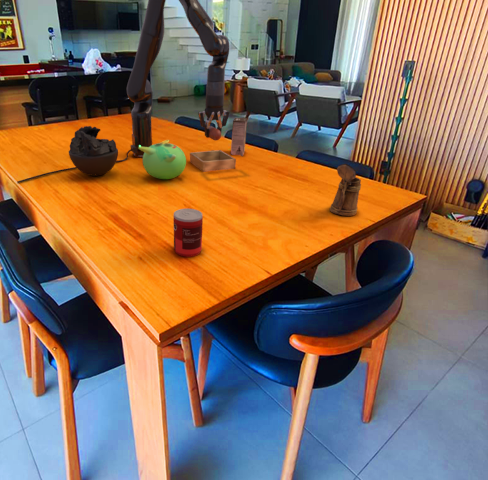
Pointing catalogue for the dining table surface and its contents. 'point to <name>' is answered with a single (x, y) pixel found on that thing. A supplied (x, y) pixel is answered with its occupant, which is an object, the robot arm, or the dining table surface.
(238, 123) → the coffee box
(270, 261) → the dining table surface
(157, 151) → the toy bird
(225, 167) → the brown wooden tray
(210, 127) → the sweet potato
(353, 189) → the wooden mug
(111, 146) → the coal bowl
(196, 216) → the canned food
